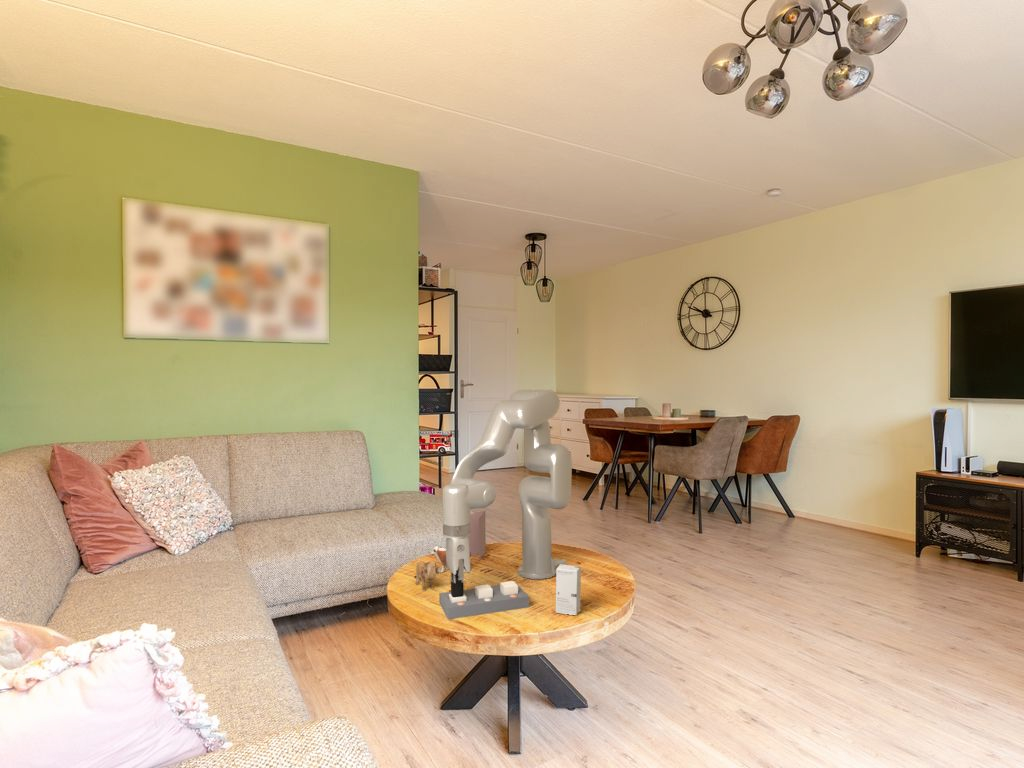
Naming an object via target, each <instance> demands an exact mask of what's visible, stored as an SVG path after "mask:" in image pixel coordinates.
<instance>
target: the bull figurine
mask: <svg viewBox="0 0 1024 768" xmlns="http://www.w3.org/2000/svg"><path fill="white" fill-rule="evenodd" d="M431 554H432V555H434V556H435V557H436V558H437V560H438V561H439V563H440V564H442V565H441V571H440V572H439V574H443V573H444V572H445V571H448V570H450V569H449V568H448V566H447V562H446V547H445V548H444V547H443V546H439V545H436V546H434V548H432V551H431ZM471 557H472V556H471V552H470V558H471ZM442 572H443V573H442ZM465 573H466V574H467V572H466V571H465V569H464V574H465Z"/></svg>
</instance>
